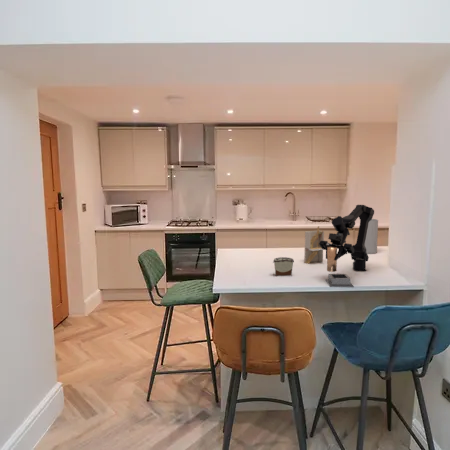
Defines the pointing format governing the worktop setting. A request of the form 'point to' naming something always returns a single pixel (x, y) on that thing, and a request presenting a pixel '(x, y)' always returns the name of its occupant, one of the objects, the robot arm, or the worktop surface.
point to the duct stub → (339, 280)
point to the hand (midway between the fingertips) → (330, 259)
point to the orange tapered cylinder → (331, 259)
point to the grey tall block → (371, 237)
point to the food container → (283, 266)
